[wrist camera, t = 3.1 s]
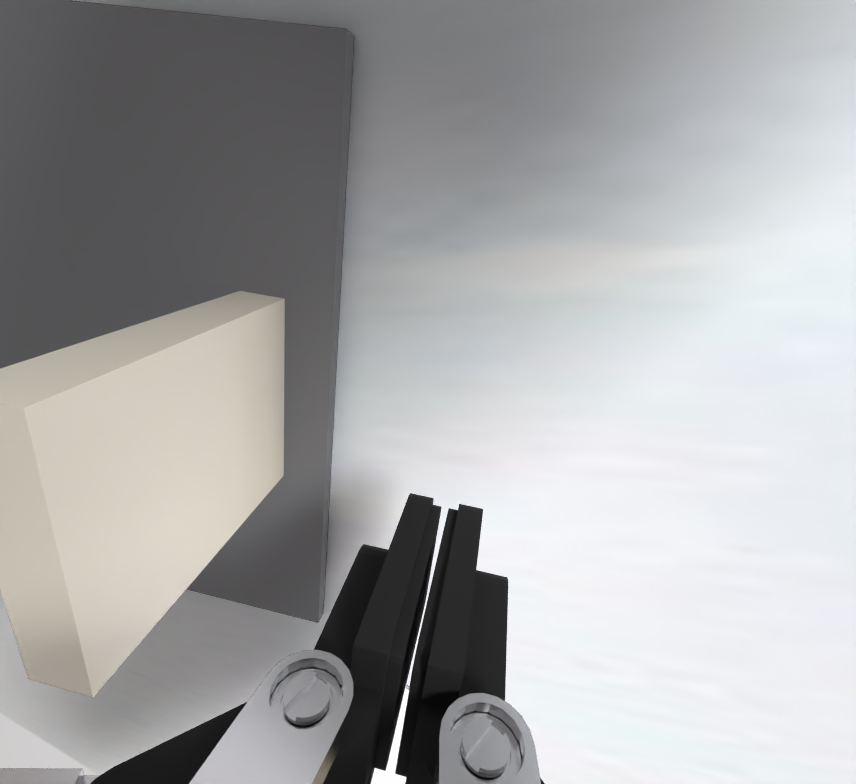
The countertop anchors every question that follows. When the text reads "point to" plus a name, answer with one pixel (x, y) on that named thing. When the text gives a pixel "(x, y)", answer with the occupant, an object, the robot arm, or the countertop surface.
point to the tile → (132, 476)
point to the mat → (184, 219)
